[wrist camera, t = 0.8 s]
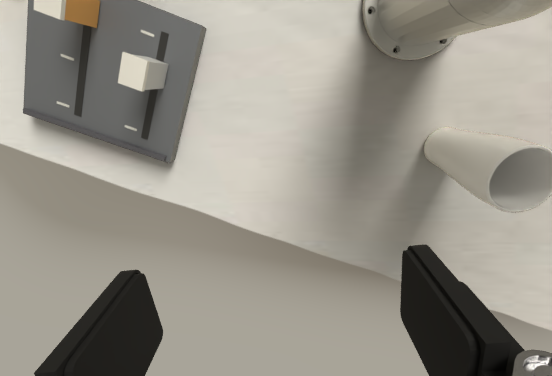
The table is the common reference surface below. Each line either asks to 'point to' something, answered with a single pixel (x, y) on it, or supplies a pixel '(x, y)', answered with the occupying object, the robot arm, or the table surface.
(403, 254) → the robot arm
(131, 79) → the grey fader
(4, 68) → the table surface
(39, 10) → the orange fader
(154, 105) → the fader board
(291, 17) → the table surface
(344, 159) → the table surface
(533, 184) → the drinking glass
